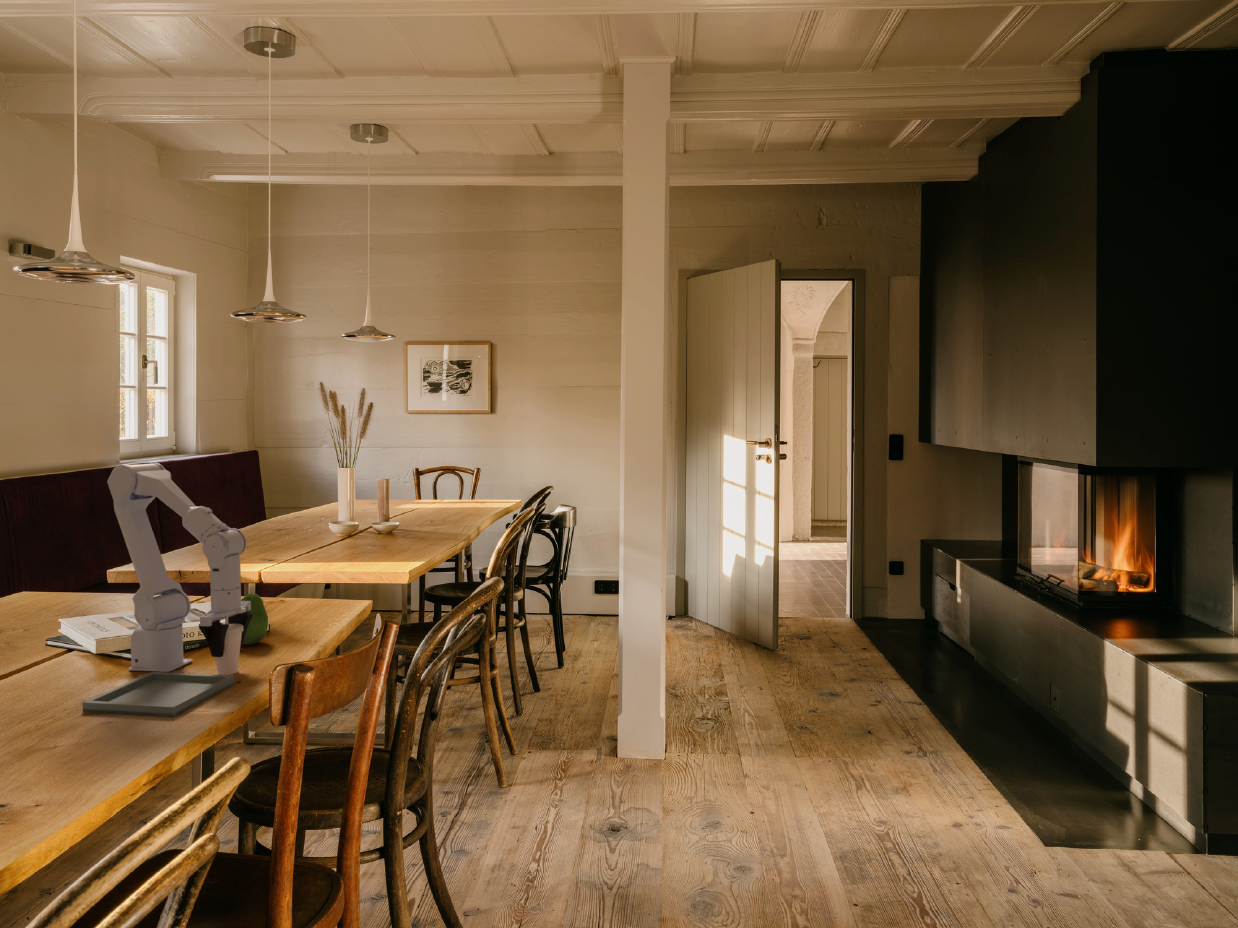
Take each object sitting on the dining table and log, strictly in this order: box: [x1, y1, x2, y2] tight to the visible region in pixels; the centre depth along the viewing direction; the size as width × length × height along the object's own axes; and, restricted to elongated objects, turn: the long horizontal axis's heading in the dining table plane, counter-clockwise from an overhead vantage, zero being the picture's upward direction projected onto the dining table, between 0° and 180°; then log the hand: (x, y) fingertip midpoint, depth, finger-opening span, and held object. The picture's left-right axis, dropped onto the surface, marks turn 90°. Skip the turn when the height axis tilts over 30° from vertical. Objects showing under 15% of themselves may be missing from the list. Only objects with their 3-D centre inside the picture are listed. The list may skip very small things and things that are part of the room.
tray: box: [82, 671, 235, 718], centre depth 155 cm, size 18×18×2 cm
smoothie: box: [215, 616, 244, 676], centre depth 170 cm, size 6×6×14 cm
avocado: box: [241, 593, 269, 646], centre depth 192 cm, size 8×8×12 cm
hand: (227, 651), depth 170 cm, fingers closed on smoothie, 6 cm apart
